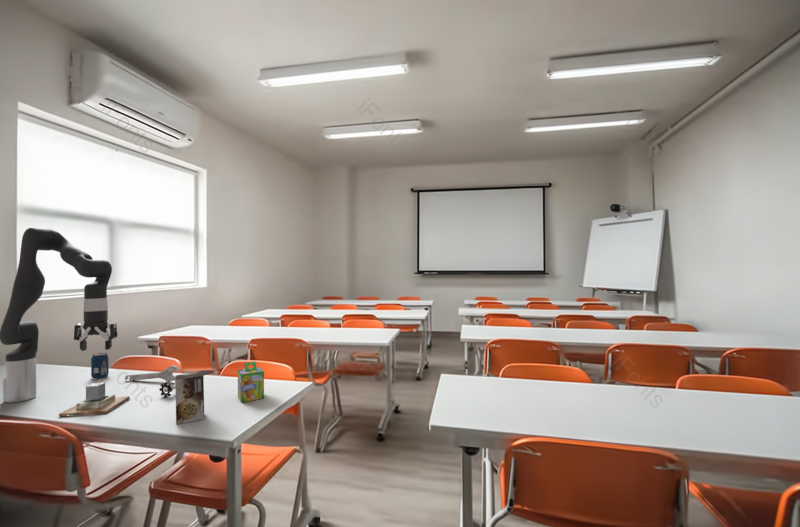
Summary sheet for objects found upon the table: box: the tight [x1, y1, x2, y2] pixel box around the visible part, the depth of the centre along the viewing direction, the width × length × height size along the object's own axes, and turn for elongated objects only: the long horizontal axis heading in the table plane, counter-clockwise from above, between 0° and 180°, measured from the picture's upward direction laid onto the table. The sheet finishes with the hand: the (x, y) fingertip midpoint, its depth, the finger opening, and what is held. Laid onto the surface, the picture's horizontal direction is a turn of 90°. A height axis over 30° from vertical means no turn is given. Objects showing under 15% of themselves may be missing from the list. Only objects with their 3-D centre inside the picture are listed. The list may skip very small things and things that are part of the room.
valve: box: [158, 382, 175, 399], centre depth 165 cm, size 7×7×12 cm
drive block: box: [85, 382, 106, 402], centre depth 149 cm, size 4×4×8 cm
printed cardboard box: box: [174, 371, 205, 425], centre depth 137 cm, size 9×6×16 cm
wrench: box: [124, 365, 181, 384], centre depth 183 cm, size 8×2×30 cm
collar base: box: [58, 394, 130, 417], centre depth 149 cm, size 16×16×3 cm
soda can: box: [90, 352, 110, 380], centre depth 191 cm, size 7×7×12 cm
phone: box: [198, 370, 213, 376], centre depth 192 cm, size 7×1×15 cm
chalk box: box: [237, 361, 265, 403], centre depth 158 cm, size 9×9×15 cm
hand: (95, 349), depth 149 cm, fingers open, 8 cm apart
